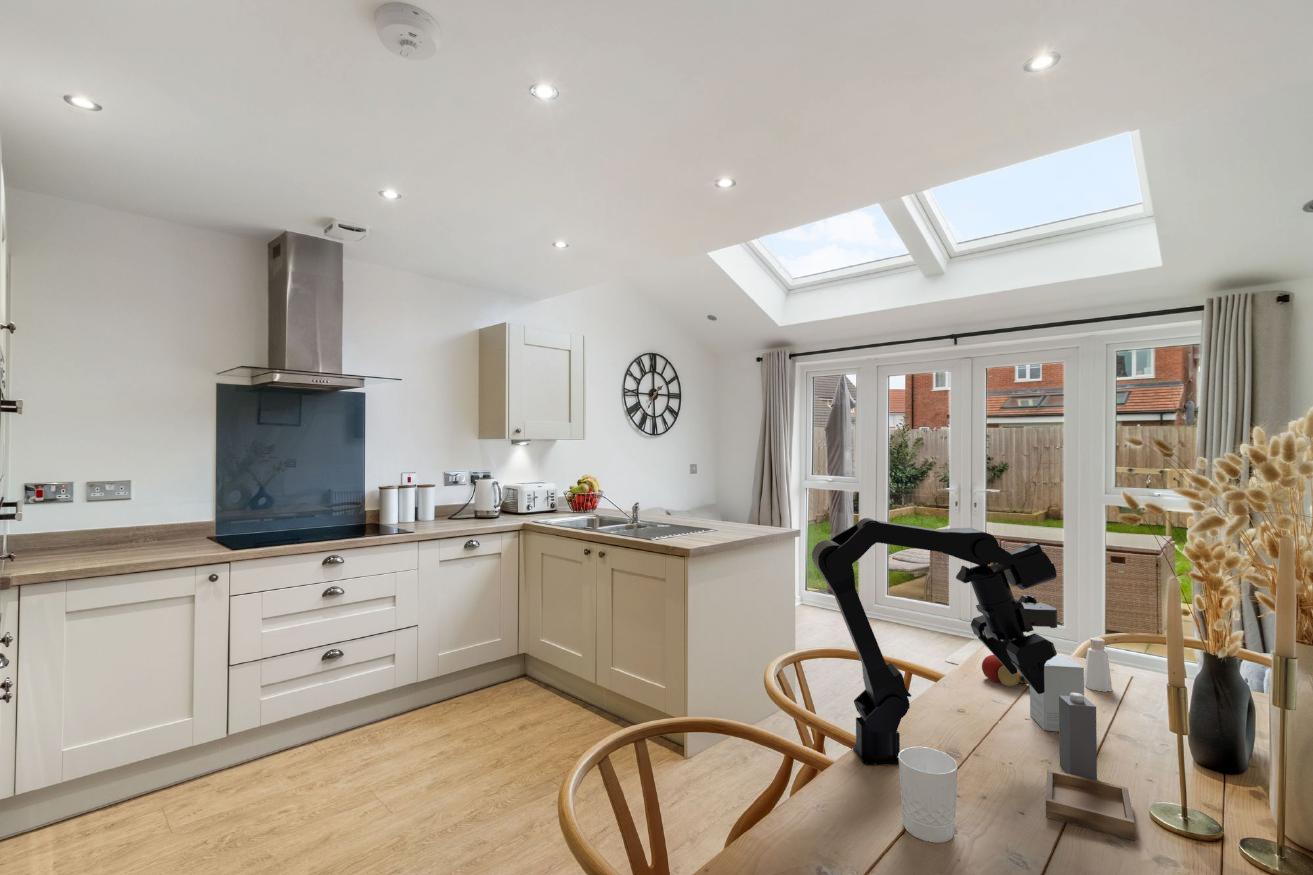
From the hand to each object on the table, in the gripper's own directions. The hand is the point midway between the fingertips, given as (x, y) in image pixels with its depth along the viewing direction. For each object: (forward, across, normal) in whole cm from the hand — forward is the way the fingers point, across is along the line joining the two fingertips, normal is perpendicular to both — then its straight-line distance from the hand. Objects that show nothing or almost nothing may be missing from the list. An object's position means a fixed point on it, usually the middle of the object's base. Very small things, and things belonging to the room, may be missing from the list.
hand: (1027, 682), depth 111 cm
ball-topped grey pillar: (+15, -3, -2) cm, 15 cm away
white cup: (+5, -21, +27) cm, 35 cm away
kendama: (+18, +34, -10) cm, 39 cm away
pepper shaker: (+24, +35, -26) cm, 50 cm away
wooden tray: (+13, -15, +3) cm, 20 cm away
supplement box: (+17, +15, -8) cm, 24 cm away
